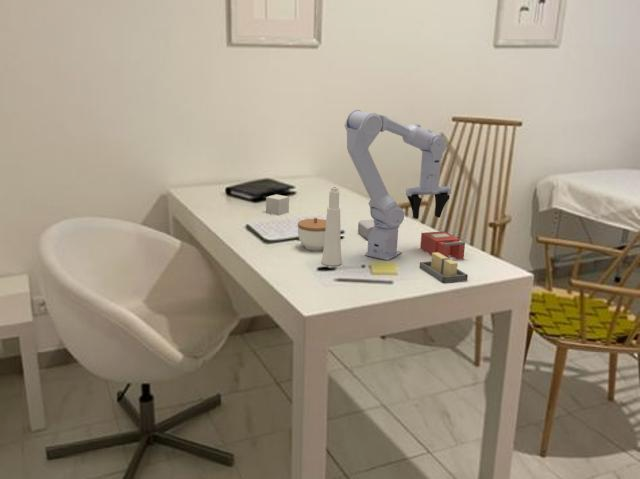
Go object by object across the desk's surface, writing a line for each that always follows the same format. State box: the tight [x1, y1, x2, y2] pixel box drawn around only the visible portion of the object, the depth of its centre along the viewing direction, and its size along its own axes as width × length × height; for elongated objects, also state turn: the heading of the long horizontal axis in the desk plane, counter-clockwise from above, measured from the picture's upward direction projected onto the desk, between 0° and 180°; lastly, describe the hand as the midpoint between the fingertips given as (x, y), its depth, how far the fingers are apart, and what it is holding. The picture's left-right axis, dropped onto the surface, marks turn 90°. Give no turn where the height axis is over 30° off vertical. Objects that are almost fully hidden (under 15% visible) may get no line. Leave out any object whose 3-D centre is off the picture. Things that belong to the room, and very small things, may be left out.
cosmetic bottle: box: [320, 186, 343, 267], centre depth 185 cm, size 6×6×22 cm
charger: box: [357, 219, 374, 241], centre depth 218 cm, size 5×9×15 cm
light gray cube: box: [265, 194, 290, 216], centre depth 241 cm, size 6×6×6 cm
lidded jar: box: [297, 217, 326, 251], centre depth 200 cm, size 11×11×9 cm
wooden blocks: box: [431, 252, 458, 276], centre depth 181 cm, size 10×2×4 cm, turn 21°
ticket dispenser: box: [420, 230, 466, 260], centre depth 199 cm, size 13×8×5 cm, turn 20°
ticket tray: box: [419, 261, 469, 284], centre depth 181 cm, size 13×8×2 cm, turn 20°
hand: (426, 217), depth 201 cm, fingers open, 7 cm apart
